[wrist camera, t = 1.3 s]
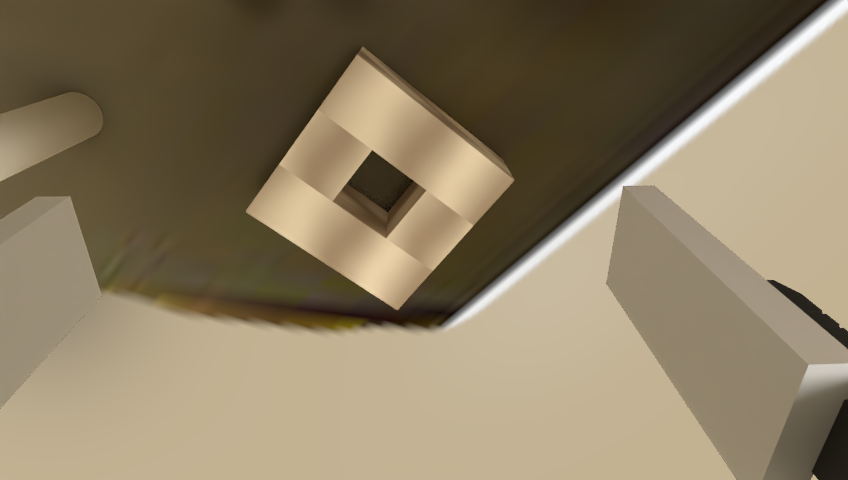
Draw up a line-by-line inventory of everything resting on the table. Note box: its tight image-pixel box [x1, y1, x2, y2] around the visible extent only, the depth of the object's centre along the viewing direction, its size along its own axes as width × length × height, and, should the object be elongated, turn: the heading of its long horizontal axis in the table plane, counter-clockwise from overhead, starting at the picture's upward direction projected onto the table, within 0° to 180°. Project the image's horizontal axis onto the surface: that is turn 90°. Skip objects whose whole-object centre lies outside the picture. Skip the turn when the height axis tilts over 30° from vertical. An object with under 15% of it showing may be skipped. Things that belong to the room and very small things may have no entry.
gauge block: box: [246, 47, 514, 310], centre depth 36 cm, size 12×12×4 cm
